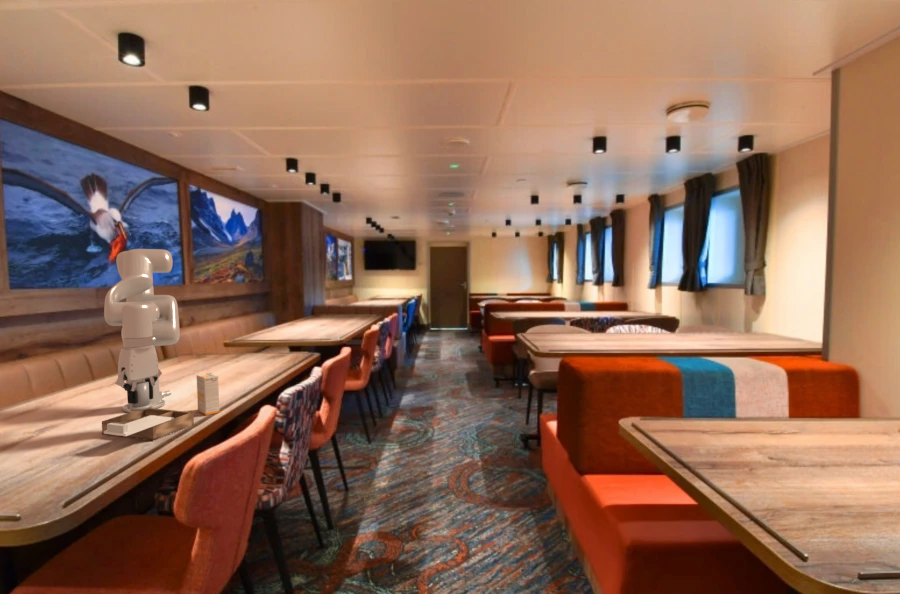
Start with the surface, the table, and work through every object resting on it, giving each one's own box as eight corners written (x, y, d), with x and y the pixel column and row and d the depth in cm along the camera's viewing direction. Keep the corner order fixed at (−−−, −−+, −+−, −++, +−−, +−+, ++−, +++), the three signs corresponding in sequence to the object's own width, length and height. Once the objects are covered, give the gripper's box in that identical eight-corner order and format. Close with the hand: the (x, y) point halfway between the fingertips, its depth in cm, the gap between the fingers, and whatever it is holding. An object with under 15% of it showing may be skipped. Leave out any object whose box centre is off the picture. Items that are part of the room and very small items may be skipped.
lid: (150, 417, 133) (150, 408, 133) (171, 419, 131) (170, 410, 131) (103, 433, 120) (103, 424, 120) (125, 436, 118) (125, 426, 118)
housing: (145, 419, 145) (145, 407, 144) (193, 424, 139) (193, 412, 139) (102, 434, 131) (101, 421, 131) (153, 440, 126) (153, 427, 126)
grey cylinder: (138, 404, 139) (137, 380, 139) (156, 406, 137) (155, 381, 137) (121, 410, 134) (120, 384, 134) (139, 411, 132) (138, 385, 132)
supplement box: (220, 412, 151) (219, 375, 151) (205, 415, 148) (203, 378, 147) (212, 407, 157) (210, 372, 156) (197, 410, 153) (196, 374, 153)
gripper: (154, 338, 144) (156, 393, 144) (101, 346, 127) (103, 408, 128) (171, 339, 142) (174, 394, 142) (120, 347, 125) (123, 409, 126)
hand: (140, 400), depth 135 cm, fingers closed on grey cylinder, 4 cm apart
